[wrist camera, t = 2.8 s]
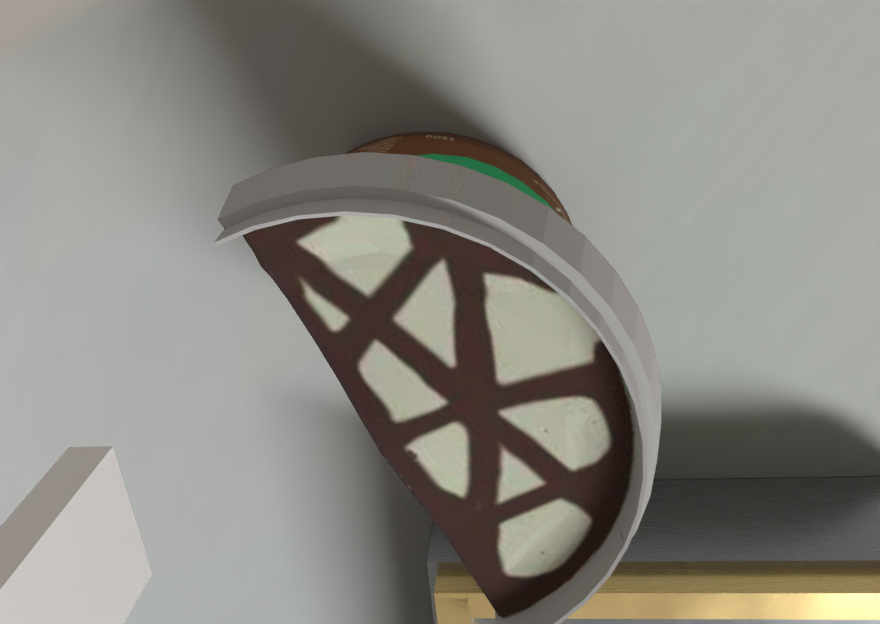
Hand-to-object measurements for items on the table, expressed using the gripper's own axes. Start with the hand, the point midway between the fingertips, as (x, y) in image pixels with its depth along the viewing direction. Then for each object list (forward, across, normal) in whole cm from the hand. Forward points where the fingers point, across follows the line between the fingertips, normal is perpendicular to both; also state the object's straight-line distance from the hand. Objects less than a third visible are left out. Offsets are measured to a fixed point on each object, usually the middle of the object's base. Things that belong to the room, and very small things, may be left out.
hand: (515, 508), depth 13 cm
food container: (+13, 0, 0) cm, 13 cm away
